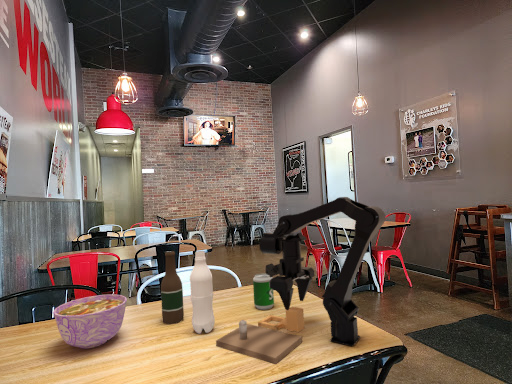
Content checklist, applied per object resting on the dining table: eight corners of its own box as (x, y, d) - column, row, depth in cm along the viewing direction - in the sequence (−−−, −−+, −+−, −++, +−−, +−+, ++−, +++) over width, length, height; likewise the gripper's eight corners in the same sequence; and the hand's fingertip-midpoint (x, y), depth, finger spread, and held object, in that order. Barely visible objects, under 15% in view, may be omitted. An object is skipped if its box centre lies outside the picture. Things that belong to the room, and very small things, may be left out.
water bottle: (210, 335, 98) (206, 253, 99) (188, 334, 100) (184, 254, 100) (218, 326, 105) (214, 249, 106) (197, 325, 107) (193, 250, 107)
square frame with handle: (306, 325, 102) (305, 306, 102) (295, 334, 96) (294, 314, 96) (270, 318, 110) (269, 300, 110) (258, 325, 104) (257, 307, 104)
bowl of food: (43, 364, 86) (42, 320, 86) (66, 334, 105) (65, 299, 105) (124, 351, 91) (122, 309, 91) (131, 325, 110) (130, 291, 110)
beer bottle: (187, 316, 116) (184, 249, 117) (180, 324, 108) (176, 253, 109) (166, 316, 117) (163, 250, 117) (158, 324, 109) (154, 254, 110)
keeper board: (302, 341, 91) (300, 318, 91) (275, 364, 80) (274, 337, 80) (246, 328, 103) (245, 307, 103) (216, 345, 91) (215, 322, 91)
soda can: (266, 312, 116) (264, 278, 116) (250, 308, 121) (248, 276, 121) (278, 305, 122) (276, 274, 123) (262, 302, 127) (260, 272, 127)
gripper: (284, 249, 113) (287, 293, 112) (253, 258, 98) (256, 310, 97) (313, 250, 106) (316, 298, 106) (284, 261, 91) (288, 316, 91)
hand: (294, 305), depth 100 cm, fingers open, 9 cm apart
